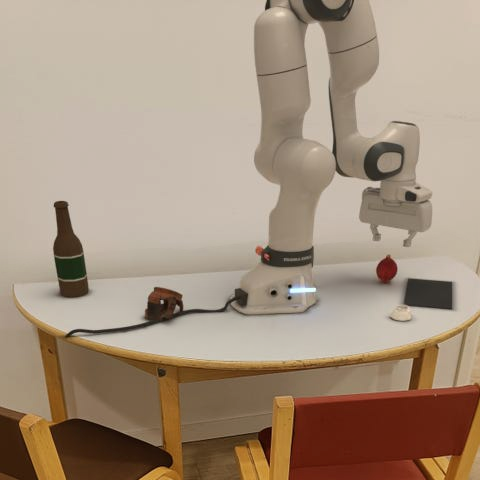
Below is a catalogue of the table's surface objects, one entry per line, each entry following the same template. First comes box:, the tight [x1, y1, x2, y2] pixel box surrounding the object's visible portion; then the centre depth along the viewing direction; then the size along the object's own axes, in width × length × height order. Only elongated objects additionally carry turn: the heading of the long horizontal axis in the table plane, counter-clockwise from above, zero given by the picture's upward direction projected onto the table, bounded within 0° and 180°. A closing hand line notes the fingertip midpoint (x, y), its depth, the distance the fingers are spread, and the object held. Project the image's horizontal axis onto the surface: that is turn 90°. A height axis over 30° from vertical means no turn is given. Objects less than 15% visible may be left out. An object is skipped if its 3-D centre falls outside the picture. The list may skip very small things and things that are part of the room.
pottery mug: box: [144, 286, 184, 323], centre depth 148 cm, size 12×10×8 cm
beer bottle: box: [52, 200, 90, 298], centre depth 158 cm, size 8×8×24 cm
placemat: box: [403, 277, 453, 311], centre depth 162 cm, size 22×12×1 cm, turn 163°
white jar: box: [390, 304, 413, 322], centre depth 146 cm, size 5×3×5 cm
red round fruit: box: [375, 253, 399, 284], centre depth 167 cm, size 6×6×8 cm
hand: (391, 243), depth 164 cm, fingers open, 8 cm apart
